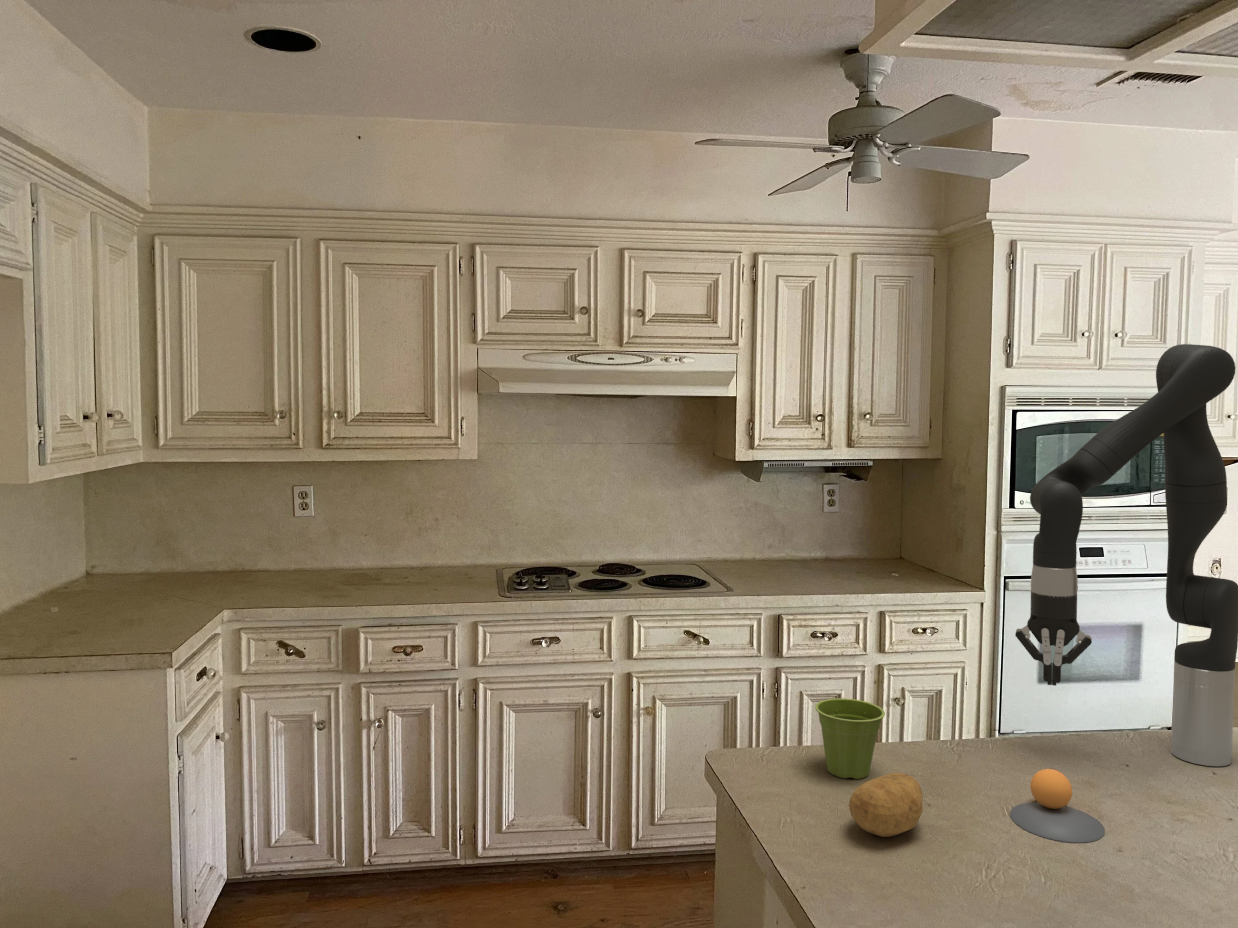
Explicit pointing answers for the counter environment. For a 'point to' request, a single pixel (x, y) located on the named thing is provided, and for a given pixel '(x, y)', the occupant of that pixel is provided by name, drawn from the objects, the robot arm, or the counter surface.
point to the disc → (1057, 823)
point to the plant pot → (849, 735)
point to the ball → (1051, 788)
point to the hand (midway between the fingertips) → (1052, 683)
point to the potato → (887, 804)
